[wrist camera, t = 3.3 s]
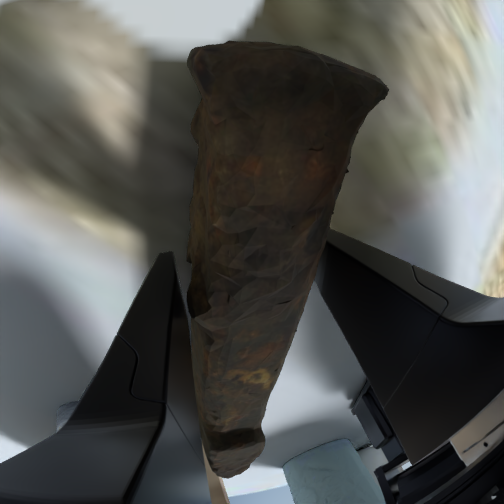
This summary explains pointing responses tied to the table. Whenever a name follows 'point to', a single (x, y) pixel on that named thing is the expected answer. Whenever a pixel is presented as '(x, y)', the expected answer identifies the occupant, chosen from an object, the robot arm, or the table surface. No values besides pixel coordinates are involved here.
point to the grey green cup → (331, 476)
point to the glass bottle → (373, 460)
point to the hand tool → (260, 220)
